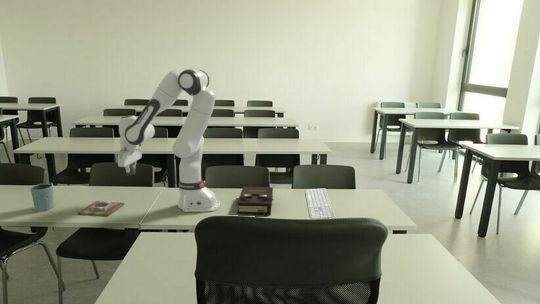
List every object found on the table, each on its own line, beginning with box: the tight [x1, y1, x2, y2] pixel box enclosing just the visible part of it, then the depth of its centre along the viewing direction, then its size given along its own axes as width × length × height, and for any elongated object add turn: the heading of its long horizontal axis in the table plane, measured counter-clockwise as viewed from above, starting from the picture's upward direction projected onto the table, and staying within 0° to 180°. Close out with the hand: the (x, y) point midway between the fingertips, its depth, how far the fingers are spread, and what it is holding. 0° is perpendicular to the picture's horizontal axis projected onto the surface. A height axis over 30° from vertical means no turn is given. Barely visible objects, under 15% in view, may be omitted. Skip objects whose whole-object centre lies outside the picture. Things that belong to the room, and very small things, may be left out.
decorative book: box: [235, 186, 274, 216], centre depth 203 cm, size 19×8×30 cm
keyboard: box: [304, 187, 336, 220], centre depth 208 cm, size 44×12×2 cm, turn 179°
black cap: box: [126, 163, 136, 176], centre depth 205 cm, size 4×4×5 cm
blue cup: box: [29, 183, 55, 212], centre depth 196 cm, size 10×10×12 cm
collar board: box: [77, 200, 125, 217], centre depth 196 cm, size 16×16×2 cm
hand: (130, 170), depth 205 cm, fingers closed on black cap, 4 cm apart
